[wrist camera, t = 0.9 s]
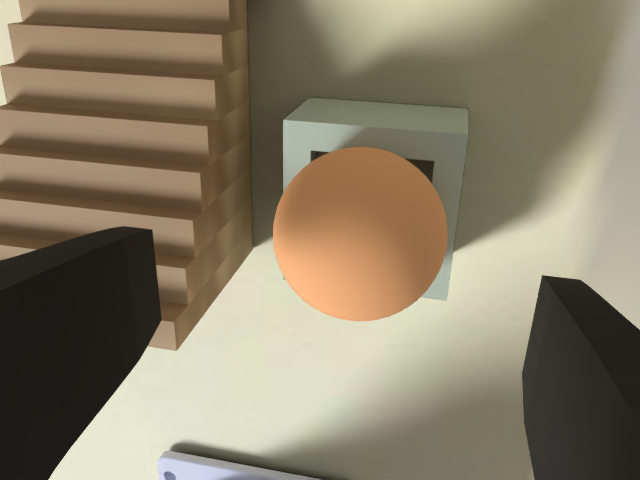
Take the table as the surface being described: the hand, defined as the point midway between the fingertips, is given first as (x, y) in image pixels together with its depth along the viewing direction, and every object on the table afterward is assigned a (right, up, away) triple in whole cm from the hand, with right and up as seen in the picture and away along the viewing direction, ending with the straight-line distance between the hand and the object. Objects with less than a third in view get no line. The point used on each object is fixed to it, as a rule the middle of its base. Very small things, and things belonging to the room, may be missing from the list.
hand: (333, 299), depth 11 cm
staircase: (-5, +5, +7) cm, 10 cm away
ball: (+1, +1, +3) cm, 3 cm away
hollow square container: (+2, +3, +6) cm, 7 cm away
